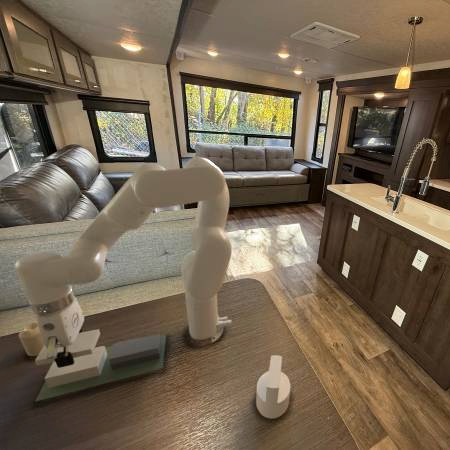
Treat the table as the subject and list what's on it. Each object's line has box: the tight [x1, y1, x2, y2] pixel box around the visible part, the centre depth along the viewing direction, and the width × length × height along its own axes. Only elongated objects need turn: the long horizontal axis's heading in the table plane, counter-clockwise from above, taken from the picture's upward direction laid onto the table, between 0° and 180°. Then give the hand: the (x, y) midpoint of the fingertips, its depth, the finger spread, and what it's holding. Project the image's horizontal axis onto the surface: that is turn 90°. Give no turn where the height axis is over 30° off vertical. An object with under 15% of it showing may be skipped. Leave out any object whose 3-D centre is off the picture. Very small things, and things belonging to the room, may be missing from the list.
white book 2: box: [44, 345, 106, 383], centre depth 68 cm, size 11×7×2 cm, turn 113°
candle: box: [18, 322, 44, 357], centre depth 73 cm, size 6×6×10 cm
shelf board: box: [35, 334, 167, 403], centre depth 72 cm, size 28×13×2 cm, turn 113°
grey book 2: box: [111, 340, 162, 370], centre depth 74 cm, size 12×6×2 cm, turn 113°
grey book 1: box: [109, 333, 161, 365], centre depth 73 cm, size 12×6×2 cm, turn 113°
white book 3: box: [47, 351, 107, 388], centre depth 69 cm, size 11×7×2 cm, turn 113°
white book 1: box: [34, 328, 101, 367], centre depth 65 cm, size 11×7×2 cm, turn 113°
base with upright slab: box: [255, 354, 291, 420], centre depth 65 cm, size 9×9×12 cm
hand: (72, 352), depth 66 cm, fingers closed on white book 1, 7 cm apart
